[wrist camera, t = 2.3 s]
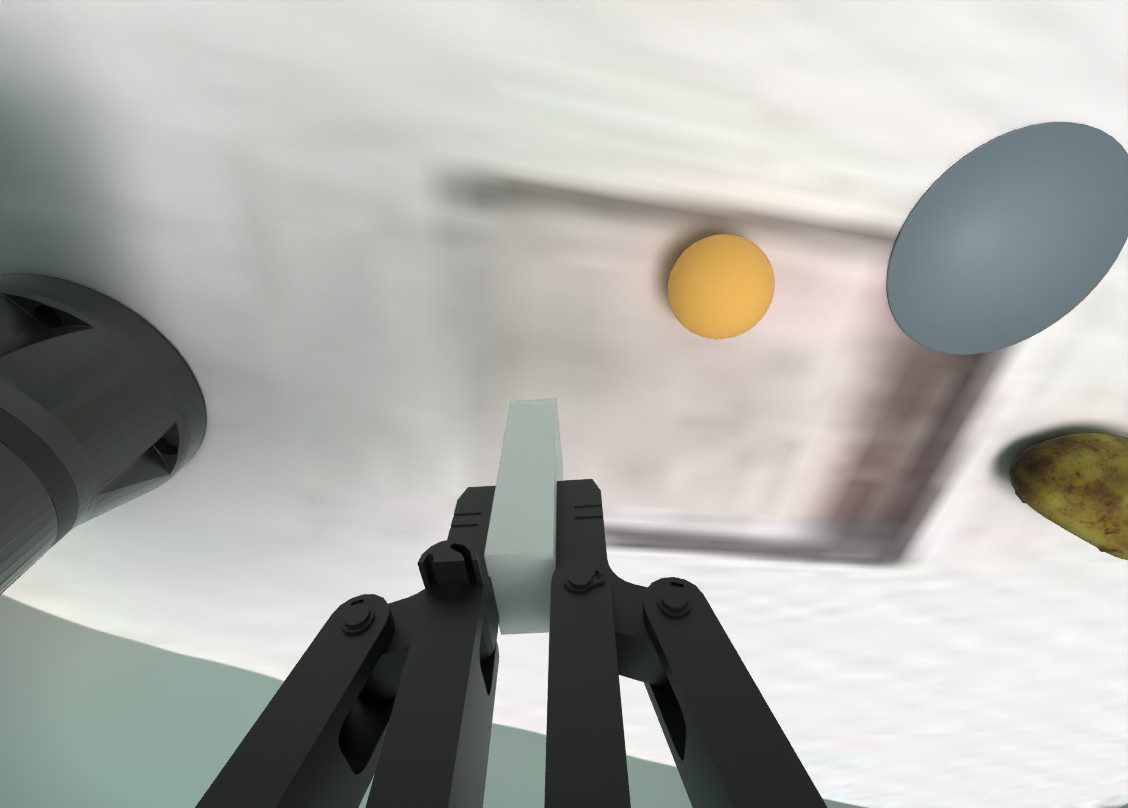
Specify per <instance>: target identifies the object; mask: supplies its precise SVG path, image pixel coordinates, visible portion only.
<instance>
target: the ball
mask: <svg viewBox="0 0 1128 808" xmlns="http://www.w3.org/2000/svg"><path fill="white" fill-rule="evenodd" d="M774 285H775V282H774V273H773V269H772V266H771V264H770V261H769V260H768V258H767V256H766V255H765V254H764V252H763V251H762V250H761V249H760V248H759V247H758V246H757V245H756V244H754V243H753V242H751V241H749V240H747V239H745V238H743V237H740V236H736V235H728V234H719V235H713V236H709V237H706V238H704V239H701V240H699V241H697V242H696V243H694V244H692V245H691V246H690V247H688V248H687V249H686V250H685V251H684V252H683V253H682V254H681V256H680V257H679V258H678V260H677V261H676V263H675V264H674V266H673V268H672V271H671V274H670V277H669V282H668V298H669V302H670V306H671V309H672V311H673V313H674V315H675V316H676V318H677V319H678V320H679V322H680V323H681V324H682V325H683V326H684V327H685V328H687V329H688V330H689V331H691V332H693V333H694V334H696V335H699V336H702V337H706V338H710V339H725V338H731V337H735V336H737V335H740V334H742V333H744V332H746V331H748V330H749V329H751V328H752V327H753V326H755V325H756V324H757V323H758V322H759V321H760V320H761V318H762V317H763V316H764V315H765V313H766V311H767V310H768V308H769V306H770V304H771V301H772V298H773V294H774Z"/></svg>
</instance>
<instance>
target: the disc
mask: <svg viewBox="0 0 1128 808" xmlns="http://www.w3.org/2000/svg"><path fill="white" fill-rule="evenodd" d="M1127 237H1128V154H1127V152H1126V151H1125V149H1124V148H1123V147H1122V145H1121V144H1120V143H1118V142H1117V141H1116V140H1115V139H1114V138H1113V137H1112V136H1110V135H1108V134H1107V133H1105V132H1103V131H1102V130H1100V129H1097V128H1094V127H1091V126H1088V125H1083V124H1077V123H1069V122H1055V123H1044V124H1038V125H1032V126H1028V127H1025V128H1021V129H1018V130H1015V131H1012V132H1010V133H1007V134H1005V135H1002V136H1000V137H997V138H995V139H993V140H992V141H990V142H988V143H986V144H984V145H982V146H980V147H979V148H977V149H976V150H974V151H973V152H971V153H970V154H968V155H967V156H965V157H963V158H962V159H961V160H960V161H958V162H957V163H956V164H955V165H953V166H952V167H951V168H950V169H948V170H947V171H946V172H945V173H944V174H943V175H942V176H941V177H940V178H939V179H938V180H937V181H936V182H935V183H934V184H933V185H932V186H931V187H930V188H929V190H928V191H927V192H926V193H925V194H924V195H923V197H922V198H921V199H920V200H919V202H918V203H917V205H916V206H915V207H914V209H913V210H912V212H911V213H910V215H909V216H908V218H907V220H906V222H905V223H904V225H903V227H902V229H901V231H900V233H899V235H898V237H897V240H896V242H895V244H894V248H893V251H892V254H891V257H890V261H889V267H888V272H887V294H888V301H889V305H890V308H891V311H892V314H893V316H894V318H895V320H896V322H897V323H898V324H899V326H900V327H901V329H902V330H903V331H904V332H905V333H906V334H907V335H908V336H909V337H910V338H912V339H913V340H915V341H916V342H918V343H919V344H921V345H922V346H925V347H927V348H929V349H932V350H935V351H939V352H942V353H948V354H957V355H959V354H978V353H985V352H990V351H994V350H999V349H1002V348H1005V347H1008V346H1011V345H1014V344H1016V343H1018V342H1021V341H1023V340H1025V339H1028V338H1030V337H1032V336H1033V335H1035V334H1037V333H1039V332H1041V331H1043V330H1044V329H1046V328H1048V327H1049V326H1051V325H1052V324H1054V323H1055V322H1057V321H1058V320H1060V319H1061V318H1062V317H1064V316H1065V315H1066V314H1067V313H1069V312H1070V311H1071V310H1073V309H1074V308H1075V307H1076V306H1077V305H1078V304H1079V303H1080V302H1081V301H1083V300H1084V299H1085V298H1086V297H1087V296H1088V295H1089V293H1090V292H1091V291H1092V290H1093V289H1094V288H1095V287H1096V286H1097V285H1098V284H1099V282H1100V281H1101V280H1102V279H1103V277H1104V276H1105V275H1106V274H1107V272H1108V271H1109V269H1110V268H1111V266H1112V265H1113V263H1114V262H1115V260H1116V259H1117V257H1118V255H1119V254H1120V252H1121V250H1122V248H1123V246H1124V244H1125V242H1126V240H1127Z"/></svg>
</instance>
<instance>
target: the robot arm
mask: <svg viewBox="0 0 1128 808" xmlns="http://www.w3.org/2000/svg"><path fill="white" fill-rule="evenodd" d="M205 424H206V416H205V407H204V403H203V399H202V396H201V393H200V390H199V388H198V385H197V383H196V381H195V379H194V377H193V375H192V373H191V372H190V370H189V368H188V367H187V365H186V364H185V362H184V361H183V360H182V358H181V357H180V356H179V354H178V353H177V352H176V351H175V350H174V348H173V347H172V346H171V345H170V344H169V343H168V342H167V341H166V340H165V339H164V338H163V337H162V336H161V335H160V334H159V333H158V332H157V331H156V330H155V329H154V328H152V327H151V326H150V325H149V324H148V323H146V322H145V321H144V320H143V319H141V318H140V317H139V316H137V315H136V314H134V313H133V312H131V311H130V310H128V309H127V308H125V307H124V306H122V305H121V304H119V303H117V302H115V301H113V300H112V299H110V298H108V297H106V296H104V295H102V294H100V293H98V292H95V291H93V290H91V289H88V288H86V287H83V286H80V285H78V284H75V283H71V282H68V281H65V280H61V279H57V278H52V277H47V276H40V275H29V274H13V275H3V276H0V595H1V594H2V593H3V592H4V591H5V590H6V589H7V588H8V587H9V586H10V585H11V584H13V583H14V582H15V581H16V580H17V579H18V578H19V577H20V576H21V575H22V574H23V573H24V572H25V571H27V570H28V569H29V568H30V567H31V566H32V565H33V564H34V563H35V562H36V561H37V560H38V559H40V558H41V557H42V556H43V555H44V554H45V553H46V552H47V551H48V550H49V549H50V548H51V547H52V546H54V545H55V544H56V543H57V542H58V541H59V540H60V539H61V538H62V537H64V536H65V535H66V534H67V533H68V532H69V531H70V530H71V529H73V528H74V527H76V526H77V525H80V524H82V523H84V522H86V521H88V520H90V519H92V518H94V517H96V516H99V515H101V514H103V513H105V512H107V511H109V510H111V509H113V508H115V507H118V506H120V505H122V504H124V503H126V502H128V501H130V500H132V499H134V498H137V497H139V496H141V495H143V494H145V493H147V492H149V491H151V490H153V489H155V488H157V487H159V486H160V485H162V484H163V483H165V482H166V481H168V480H169V479H170V478H171V477H172V476H174V475H175V474H176V473H177V472H178V471H179V470H180V469H181V468H182V467H183V466H184V465H185V464H186V463H187V462H188V461H189V460H190V459H191V458H192V457H193V455H194V454H195V453H196V451H197V450H198V448H199V446H200V445H201V442H202V440H203V436H204V432H205ZM418 566H419V570H420V573H421V576H422V579H423V583H424V586H425V589H424V590H422V591H421V592H419V593H417V594H415V595H413V596H410V597H408V598H405V599H402V600H399V601H396V602H393V603H390V604H388V603H387V602H386V601H385V599H384V598H383V597H380V596H377V595H375V594H364V595H360V596H357V597H354V598H351V599H350V600H348V601H346V602H345V603H343V604H342V605H340V606H339V607H338V608H337V609H336V611H335V612H334V613H333V614H332V615H331V616H330V618H329V619H328V621H327V622H326V623H325V625H324V626H323V628H322V629H321V630H320V632H319V633H318V635H317V636H316V637H315V639H314V640H313V642H312V643H311V645H310V646H309V647H308V649H307V650H306V652H305V653H304V654H303V656H302V657H301V659H300V660H299V661H298V663H297V664H296V666H295V667H294V669H293V670H292V671H291V673H290V674H289V676H288V677H287V678H286V680H285V681H284V683H283V684H282V686H281V687H280V689H279V690H278V691H277V693H276V694H275V695H274V697H273V698H272V700H271V701H270V702H269V704H268V705H267V707H266V708H265V710H264V711H263V712H262V714H261V715H260V717H259V718H258V720H257V721H256V722H255V724H254V725H253V726H252V728H251V729H250V731H249V732H248V734H247V735H246V736H245V738H244V739H243V741H242V742H241V743H240V745H239V746H238V748H237V749H236V751H235V752H234V753H233V755H232V756H231V758H230V759H229V760H228V762H227V763H226V765H225V766H224V767H223V769H222V770H221V772H220V773H219V775H218V776H217V778H216V779H215V780H214V782H213V783H212V784H211V786H210V788H209V789H208V790H207V792H206V793H205V794H204V796H203V797H202V799H201V800H200V801H199V803H198V804H197V806H196V807H195V808H358V807H359V805H360V803H361V801H362V799H363V796H364V794H365V792H366V790H367V788H368V786H369V784H370V782H371V780H372V778H373V776H374V778H373V782H372V786H371V790H370V793H369V797H368V800H367V804H366V808H483V799H484V789H485V781H486V772H487V762H488V754H489V744H490V735H491V726H492V717H493V708H494V699H495V690H496V681H497V672H498V663H499V650H498V644H497V633H498V624H499V627H500V632H501V635H502V634H523V633H544V632H549V667H548V702H547V737H546V738H547V739H546V773H545V808H631V805H630V794H629V785H628V784H629V783H628V773H627V763H626V750H625V739H624V729H623V718H622V707H621V696H620V685H619V675H621V676H625V677H628V678H632V679H635V680H638V681H642V682H644V684H645V687H646V689H647V692H648V694H649V697H650V699H651V702H652V704H653V707H654V710H655V712H656V715H657V717H658V720H659V722H660V725H661V727H662V730H663V733H664V735H665V738H666V740H667V743H668V745H669V748H670V751H671V753H672V756H673V758H674V761H675V763H676V766H677V768H678V771H679V774H680V776H681V779H682V781H683V784H684V786H685V789H686V791H687V794H688V797H689V799H690V802H691V804H692V807H693V808H827V806H826V805H825V803H824V801H823V799H822V797H821V796H820V794H819V792H818V791H817V789H816V787H815V785H814V784H813V782H812V780H811V779H810V777H809V775H808V773H807V772H806V770H805V768H804V767H803V765H802V763H801V761H800V760H799V758H798V756H797V754H796V753H795V751H794V749H793V748H792V746H791V744H790V742H789V741H788V739H787V737H786V736H785V734H784V732H783V730H782V729H781V727H780V725H779V724H778V722H777V720H776V718H775V717H774V715H773V713H772V712H771V710H770V708H769V706H768V705H767V703H766V701H765V699H764V698H763V696H762V694H761V693H760V691H759V689H758V687H757V686H756V684H755V682H754V681H753V679H752V677H751V675H750V674H749V672H748V670H747V669H746V667H745V665H744V663H743V662H742V660H741V658H740V657H739V655H738V653H737V651H736V650H735V648H734V646H733V644H732V643H731V641H730V639H729V638H728V636H727V634H726V632H725V631H724V629H723V627H722V626H721V624H720V622H719V620H718V619H717V617H716V615H715V614H714V612H713V610H712V608H711V607H710V605H709V603H708V601H707V600H706V598H705V596H704V595H703V593H702V592H701V591H700V590H699V589H698V588H697V586H695V585H694V584H692V583H690V582H688V581H687V580H684V579H680V578H675V577H670V578H661V579H659V580H657V581H655V582H652V583H651V585H650V586H649V587H643V586H639V585H635V584H632V583H629V582H626V581H624V580H623V579H621V578H619V577H618V576H617V575H616V574H615V573H614V572H613V571H612V570H611V568H610V566H609V564H608V560H607V553H606V542H605V532H604V521H603V510H602V499H601V490H600V489H599V488H598V486H597V485H596V484H595V482H594V481H593V479H583V480H566V481H563V463H562V453H561V442H560V432H559V421H558V410H557V400H556V398H553V399H537V400H522V401H510V406H509V412H508V418H507V424H506V430H505V435H504V441H503V447H502V453H501V459H500V465H499V471H498V477H497V482H496V486H484V487H468V488H467V489H466V490H465V492H464V493H463V494H462V495H461V496H460V498H459V499H458V500H457V504H456V508H455V512H454V517H453V520H452V523H451V528H450V531H449V535H448V539H447V540H446V541H441V542H439V543H437V544H435V545H433V546H431V547H430V548H429V549H428V550H426V551H425V552H424V553H423V554H422V556H421V558H420V559H419V561H418ZM374 774H375V775H374Z"/></svg>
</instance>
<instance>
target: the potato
mask: <svg viewBox="0 0 1128 808" xmlns="http://www.w3.org/2000/svg"><path fill="white" fill-rule="evenodd" d="M1010 479H1011V483H1012V486H1013V488H1014V490H1015V494H1016V495H1017V496H1018V497H1019V498H1020V500H1021V501H1022V502H1023V503H1027V504H1028V505H1029V506H1030V507H1031V508H1033V509H1034V510H1035V511H1037V512H1038V513H1040V514H1041V515H1042V516H1044V517H1045V518H1047V519H1049V520H1050V521H1052V522H1054V523H1055V524H1057V525H1059V526H1060V527H1062V528H1064V529H1065V530H1067V531H1069V532H1070V533H1072V534H1074V535H1076V536H1078V537H1079V538H1081V539H1083V540H1084V541H1086V542H1088V543H1090V544H1092V545H1094V546H1095V547H1097V548H1098V549H1099V550H1100V551H1101V552H1106V553H1108V554H1110V555H1113V556H1115V557H1118V558H1121V559H1125V560H1128V438H1124V437H1119V436H1113V435H1106V434H1099V433H1077V434H1069V435H1064V436H1059V437H1056V438H1053V439H1049V440H1046V441H1043V442H1040V443H1037V444H1034V445H1032V446H1030V447H1029V448H1027V449H1026V450H1024V451H1023V452H1022V453H1021V454H1020V455H1019V456H1018V457H1017V458H1016V459H1015V460H1014V462H1013V463H1012V465H1011V467H1010Z"/></svg>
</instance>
